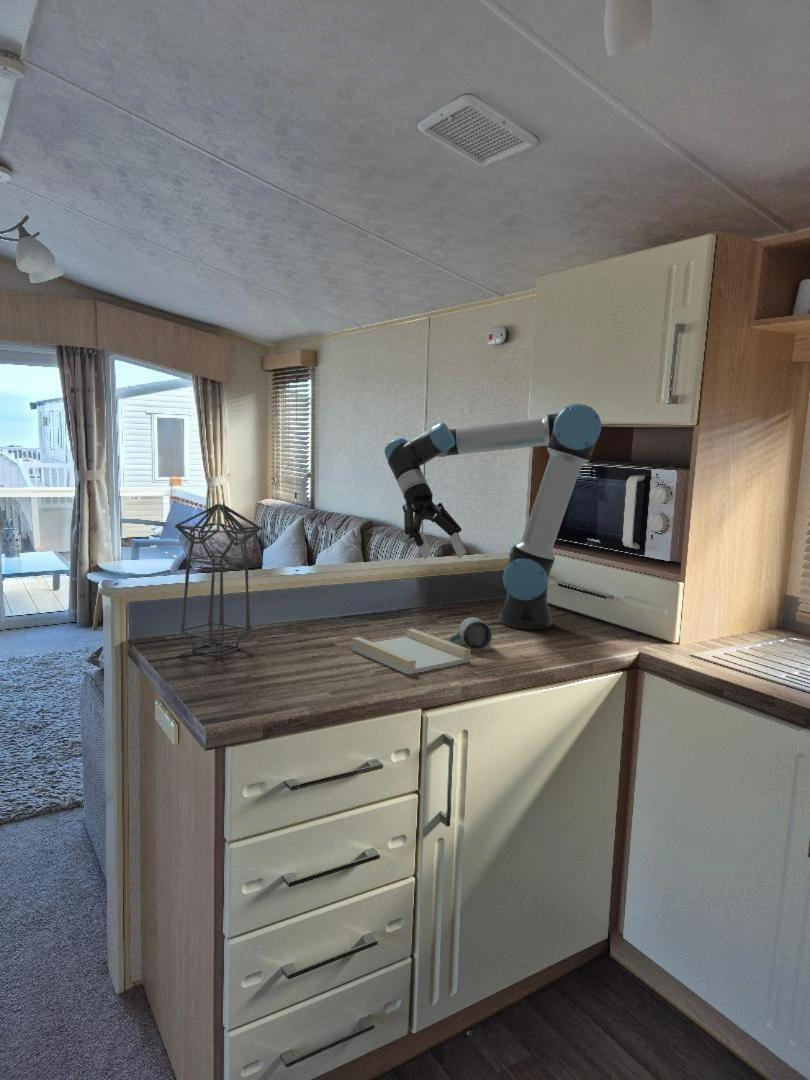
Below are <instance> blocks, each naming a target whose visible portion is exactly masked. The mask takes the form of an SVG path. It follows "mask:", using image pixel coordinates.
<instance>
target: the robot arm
mask: <svg viewBox="0 0 810 1080" xmlns="http://www.w3.org/2000/svg"><path fill="white" fill-rule="evenodd" d="M601 431H602V421H601V418H600V415H599V413H598V412H597V411H596V410H595V408H593V407H592V406H589V405H587V404H582V403H573V404H569V405H567V406H565V407H564V408H562V409H561V410H560V411H559V412H556V413H550V414H546V416H544V418H539V419H531V420H530V419H529V420H521V421H513V422H504V423H496V424H487V425H479V426H469V427H464V428H463V427H462V428H461V427H459V428H453V429H450V428H449V426H448V425H447V424H446V423H445V422H439V423H437V424H436V425H433V426H431V427H429V429H427V430H426V431H424V432H423V433H421V434H419V435H418V436H416V437H415V438H413V439H412V440H409V441H408V440H407V439H405V438H402V437H401V438H396V439H395V440H394V439H393V440H391V441H390V442H389V443H388V444H386V446H385V447H384V454H385V458H386V462H387V464H388V466H389V468H390V470H391V472H392V473H393V476H394V478H395V480H396V482H397V484H398V487H399V489H400V492H401V493H402V495H403V498H404V501H405V503H404V504H403V505H402V507H401V508H402V511H403V520H404V521H403V523H404V526H403V527H404V534H405V535H406V536H408V538H409V539H413V540H414V542H415V544H416V546H417V547H418V549H419V552H420V554H421V556H422V558H423V560H424V559H425V560H426V559H427V558H428V557H430V556H431V555H432V554H433V552H432V550H431V547H430V546H429V543H428V541H427V539H426V537H425V535H424V532H423V531H421V527H422V525H423V524H422V522H423V521H425V520H427V521H430V522H432V523H435V524H436V525H437V526H439V528H441V530H443V531H444V532H445V533H446V534H447V535H448V536H449V537H448V539H449V541H450V543H451V545H452V547H453V550H454V552H455V554H456V556H457V559H461V558H462V557H463V556H464V555H466V554H467V550H466V548H465V547H464V543H463V541H462V539H461V537H460V534H459V533H460V532H462V531H463V530H462V527H461V526H460V525H459V524H458V523H457V521H456V520H455V519H454V518H453V517H452V516H451V515H450V513H449V512H448V511H447V509H446V508H445V507H444V505H443V504H442V502H439V503H437V504H435V503H434V502H433V495H434V494H433V492H432V490H431V487H430V486H429V484H428V481H427V479H426V477H425V475H424V472H423V471H422V469H421V467H422V466H423V465H424V464H425V465H426V463H428V462H430V461H432V460H433V459H435V458H437V457H438V458H439V457H440V458H443V457H448V456H457V455H467V454H474V453H476V454H477V453H484V452H485V453H486V452H493V451H504V450H514V449H525V448H533V447H543V446H546V449H547V452H548V454H549V458H548V461H547V465H546V468H545V471H544V473H543V475H542V480H541V481H540V485H539V488H538V491H537V494H536V497H535V501H534V503H533V505H532V508H531V511H530V514H529V517H528V520H527V523H526V526H525V529H524V533H523V534H522V537H521V538H522V539H521V540H519V541H518V542H516V543H514V544H513V545H512V546H511V547H510V552H509V553H508V557H509V559H508V562H507V564H506V567H505V568H504V570H503V572H502V581H503V586H504V588H505V590H506V598H505V601H504V602H503V605H502V609H501V611H500V612H499V621H498V622H499V623H500V624H502V625H503V626H507V627H508V628H515V629H520V630H531V631H532V630H546V629H549V628H551V626H552V617H551V615H550V608H549V604H548V587H549V576H550V574H551V571H552V568H553V566H554V562H555V560H556V556H555V554H554V552H553V548H554V545H555V542H556V540H557V537H558V534H559V532H560V528H561V525H562V523H563V520H564V517H565V514H566V511H567V508H568V505H569V503H570V499H571V497H572V493H573V491H574V489H575V485H576V482H577V479H578V476H579V474H580V471H581V468H582V466H583V465H585V464H587V463H589V462H590V460H591V457H592V455H593V452H594V448H595V447H596V442H597V440H598V439H599V437H600V435H601Z"/></svg>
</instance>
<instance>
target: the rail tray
mask: <svg viewBox="0 0 810 1080" xmlns="http://www.w3.org/2000/svg"><path fill="white" fill-rule="evenodd" d="M351 640H352V641H351V642H352V645H351V647H352V648H351V651H352V650H353V651H352V652H354V651H355V653H357V654H359V655H361V654H362V655H361V656H363V655H364V657H365V658H368V657H369V658H368V659H370V658H371V659H370V660H372V659H374V660H373V661H375V660H376V661H375V662H377V661H378V662H377V663H379V662H380V663H379V664H381V663H383V664H382V665H384V664H385V665H384V666H386V665H387V666H386V667H388V666H389V668H390V667H392V668H394V669H393V670H395V669H396V670H395V671H397V670H398V671H397V672H399V671H401V672H403V673H402V674H404V673H405V674H404V675H406V674H412V675H414V674H413V673H417V674H419V673H418V672H422V671H427V670H432V669H437V668H441V669H443V668H442V667H446V668H448V667H447V666H451V667H454V666H453V665H456V666H458V665H457V664H461V663H466V662H470V663H471V651H472V650H471V649H469V648H467V647H466V646H463V645H457V644H454V643H451V642H448V641H447V640H445V639H443V638H441V637H437V636H434V635H431V634H429V633H426V632H423V631H420V630H418V629H415V628H407V629H406V636H402V637H398V638H397V637H396V638H391V639H386V640H379V641H373V642H372V641H370V640H368V639H366V638H364V637H361V636H356V637H352V639H351ZM466 664H467V663H466ZM461 665H462V664H461ZM392 668H391V669H392ZM437 670H438V669H437ZM432 671H433V670H432ZM401 672H400V673H401ZM427 672H428V671H427ZM422 673H423V672H422Z"/></svg>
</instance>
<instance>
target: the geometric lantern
mask: <svg viewBox="0 0 810 1080" xmlns="http://www.w3.org/2000/svg"><path fill="white" fill-rule="evenodd" d="M221 513H222V515H223V522H224V523H221V521H222V516H221ZM204 514H205V515H204ZM202 515H204V516H203V517H202V518H201V519H200V520H199V521H197V523H196V524H195V525H194V526H191V525H190V526H189V525H183V524H186V523H188V522H190V521H192V520H194V519H196V518H198V517H200V516H202ZM213 515H214V516H213ZM233 515H234V516H233ZM235 516H236V517H238V518H239V519H241V520H243V521H245V522H246V523H248V524H249V525H251V526H243V525H242V523H241V522H239V521H238V520H237V519H236V517H235ZM212 517H213V520H212V522H210V520H211V518H212ZM216 517H217V518H216ZM215 519H216V523H215ZM201 523H203V524H202V525H200V524H201ZM214 525H215V526H216V529H212V528H213V526H214ZM207 527H208V529H206V530H205V528H207ZM174 528H175V529H177V530H178V531H179V532H180V533H181V534H182V536H184V537H185V539H187V540H188V541H189V542H190V544H189V548H188V551H187V555H186V558H185V560H186V563H185V578H184V593H183V595H184V596H183V606H182V607H183V609H182V618H181V627H180V632H181V634H183V635H184V636H185V637H187V638H188V640H190V642H192V649H191V650H192V652H194V653H199V654H204V655H209V656H214V657H222V656H223V655H226V654H230V653H233V652H234V651H238V650H239V649H240V648H239V642H240V641H242V640H243V639H244V638H246V637H248V635H249V634H250V633H251V617H250V616H251V615H250V598H249V597H250V596H249V559H248V553H247V552H248V551H247V543H246V542H247V541H249V539H251V538H253V536H255V535H256V534H257V533H259V531H261V530H263V528H262V527H260V526H259V525H258V524H257V523H255V522H252V520H249V519H248V518H247V517H245V516H243V515H242V514H240V513H238V512H237V511H235V510H233V508H232V509H231V508H230V507H229V506H227V505H226V504H224V503H223V504H222V503H215V504H214V505H212V506H211V507H209V508H207V509H205V510H203V511H201V512H199V513H197V514H194V515H193V516H191V517H189V518H187V519H185V520H183V521H181V522H178V523H177V524H175V525H174ZM220 528H221V529H223V530H221V529H220ZM211 529H212V530H211ZM188 531H189V532H188ZM196 532H198V536H195V535H196V534H195V533H196ZM217 533H220V534H221V533H224V534H225V535H226V537H227V538H228V539H229V540H230V542H229V543H228V545H227V547H226V548H225V549H224V551H223V552H222V554H221V555H215V554H214V553H213V551H212V550H211V548H210V547H209V545H208V544H207V542H206V541H207V540H209V539H210V538H211V537H213V536H214V535H216V534H217ZM208 534H209V535H208ZM241 534H242V535H243V534H244V535H243V537H242V538H238V535H241ZM207 535H208V536H207ZM234 535H235V536H234ZM195 540H197V541H195ZM198 540H199V541H198ZM238 541H239V542H238ZM196 544H197V545H198V544H201V545H202V547H203V549H204V550H205V552H206V554H207V556H206V555H205V556H199V557H192V555H193V549H194V545H196ZM239 545H240V547H241V553H242V556H243V558H242V557H241V558H240V557H233V556H226V555H228V554H227V553H228V552H229V551H230V550H231V548H232V547H233V546H239ZM209 551H210V552H209ZM208 558H209V559H210V561H211V562H207V561H203V560H202V561H200V559H208ZM216 559H220V560H219V561H218V562H216ZM224 559H232V560H240V561H234V562H223V560H224ZM191 563H199V564H205V565H211V567H212V568H211V569H212V570H211V583H210V596H209V610H208V621H207V622H206V623H201V624H198V625H194V626H190V627H186V626H185V624H186V611H187V610H186V609H187V599H188V589H189V581H190V571H191ZM243 563H244V577H245V592H246V593H245V595H246V596H245V604H246V607H245V609H246V611H245V612H246V614H245V615H246V617H245V618H246V620H245V621H246V627H245V626H240V625H234V624H229V623H225V618H224V617H225V612H224V609H225V608H224V573H223V571H224V567H223V566H225V565H226V566H227V565H234V564H235V565H236V564H243ZM216 566H219V568H220V570H219V572H220V573H219V574H220V575H219V620H218V621H219V622H214V601H215V600H214V599H215V597H214V595H215V571H216V570H215V568H216ZM206 626H208V627H209V635H207V636H206V635H201V634H197V633H192V632H189V631H191V630H194V629H198V628H203V627H206ZM214 626H217V629H216V631H215V634H213V627H214ZM220 627H221V635H218V632H219V631H220ZM225 627H228V628H229V627H230V628H234V629H240V630H244V631H243V632H237V633H233V634H229V635H225ZM191 636H193V637H197V638H198V639H195V640H193V638H191ZM234 637H235V638H234ZM236 637H238V638H236ZM225 639H227V640H233V641H231V642H227V643H224V641H225ZM202 640H209V642H208V643H204V642H200V641H202ZM217 640H221V642H219V641H218V642H217ZM196 644H199V645H200V646H197V647H196ZM232 644H235V645H232ZM203 646H204V647H206V646H208V647H213V648H215V653H210V652H205V651H201V650H198V649H200V648H204V647H203ZM226 646H227V647H230V648H231V647H232V648H233V649H231V650H227V651H226V652H223V647H226ZM218 648H220V651H219V652H220V653H219V654H218Z"/></svg>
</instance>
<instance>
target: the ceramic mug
mask: <svg viewBox="0 0 810 1080" xmlns="http://www.w3.org/2000/svg"><path fill="white" fill-rule="evenodd" d="M458 627H459V628H458V633H456V634H454V635H452V636H450V637H448V639H447V640H446V641H448V642H451V643H454V644H457V645H460V646H463V645H465V646H464V647H465V648H468V649H471V651H473V652H474V651H475V652H481V651H483V650H485V649H487V648H488V647H489V646H490V644H491V642H492V639H493V633H492V629H491V626H489V624H488V623H486V622H485V621H484V620H482V619H481V618H479V617H474V616H472V617H467V618H464V619H463V621H461V622H460V624H459V626H458Z"/></svg>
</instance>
